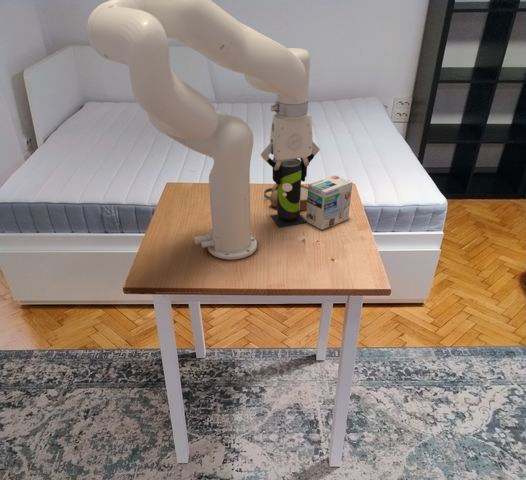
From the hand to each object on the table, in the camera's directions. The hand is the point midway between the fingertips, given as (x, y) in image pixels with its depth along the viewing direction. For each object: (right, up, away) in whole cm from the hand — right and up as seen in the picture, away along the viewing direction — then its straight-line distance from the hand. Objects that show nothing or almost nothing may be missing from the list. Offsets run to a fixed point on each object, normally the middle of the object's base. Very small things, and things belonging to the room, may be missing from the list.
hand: (289, 180), depth 132 cm
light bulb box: (+11, -9, +7) cm, 16 cm away
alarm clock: (+1, -1, +16) cm, 16 cm away
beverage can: (0, -8, +7) cm, 10 cm away
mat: (0, -8, +7) cm, 11 cm away
